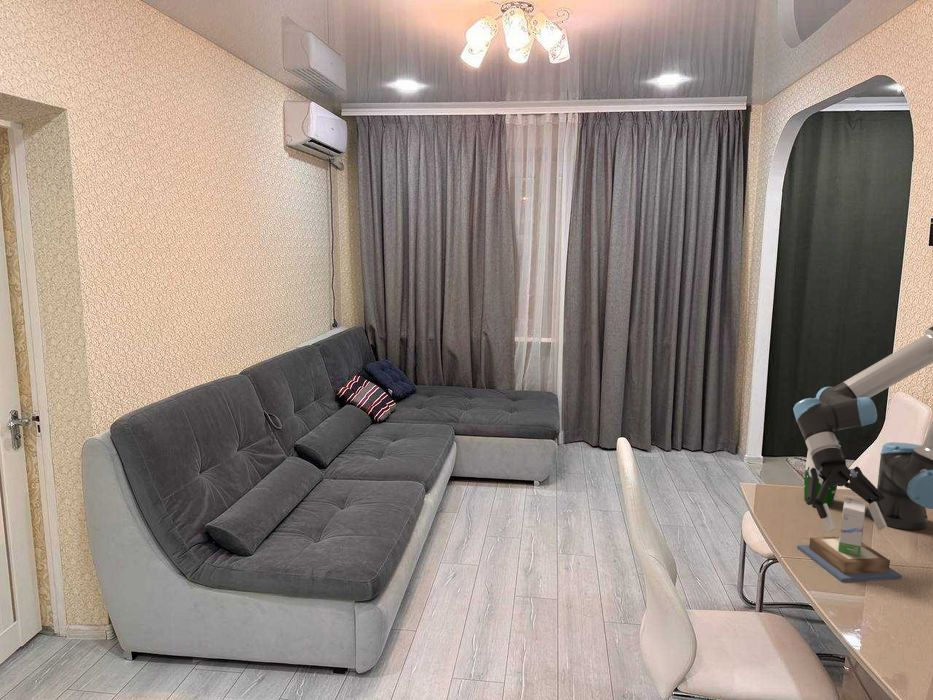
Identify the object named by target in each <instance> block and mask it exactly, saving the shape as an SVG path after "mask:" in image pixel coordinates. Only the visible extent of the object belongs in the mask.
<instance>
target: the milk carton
mask: <svg viewBox="0 0 933 700" xmlns="http://www.w3.org/2000/svg"><path fill="white" fill-rule="evenodd" d="M837 441H838V443H839V445H840V448H839V449H841V450H842V448H841V447H842V445H841V441H840V440H839V439H837ZM812 468H815V465H814V463H813V460H812V456H811V455H810V452H809V450H808V449H807V455H806V461H805V469H804V470H805V471H804V472H805V473H804V481H803V482H804V483H803V489H804V490H803V493H804V496H803V497H804V499H803V500H804V502H806V499H807V490H808V481H809V479H808V475H807V472H808V471H809V470H810V469H812ZM815 469H816V468H815ZM816 470H817V469H816ZM822 482H823V479H822V478H820V477H819V476H818V481H817V491H816V497H817V495H818V493H819V490H820V488H821V484H822ZM837 487H838V486H835V487H832V486H830V487H829V490H828V492H827V494H826V497H825V499H824V501H823V504H825V503H827V505H828V507H830V506H831V505H832V503H833V502H834V499H835V495H836V491H837Z"/></svg>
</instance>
